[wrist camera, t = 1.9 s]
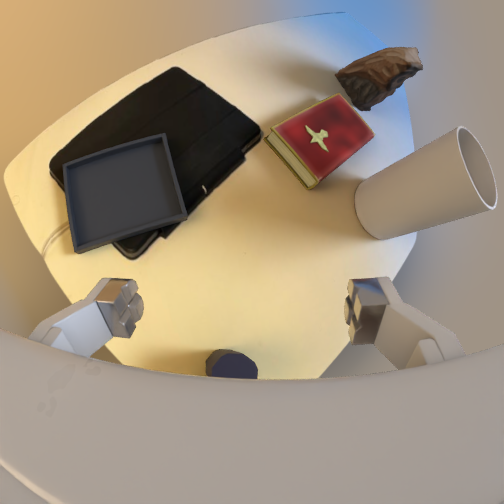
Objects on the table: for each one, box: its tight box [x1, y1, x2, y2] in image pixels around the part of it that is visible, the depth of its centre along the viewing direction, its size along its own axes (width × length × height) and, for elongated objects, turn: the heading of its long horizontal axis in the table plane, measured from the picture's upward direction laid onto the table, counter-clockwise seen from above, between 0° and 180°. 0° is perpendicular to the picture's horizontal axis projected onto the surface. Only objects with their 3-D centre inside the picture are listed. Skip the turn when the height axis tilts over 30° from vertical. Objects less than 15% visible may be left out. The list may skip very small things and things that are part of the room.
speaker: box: [206, 349, 258, 379], centre depth 32 cm, size 8×6×10 cm
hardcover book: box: [263, 93, 375, 190], centre depth 46 cm, size 12×21×4 cm, turn 133°
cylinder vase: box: [355, 126, 497, 240], centre depth 38 cm, size 12×12×25 cm
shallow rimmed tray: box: [63, 133, 188, 254], centre depth 35 cm, size 17×14×2 cm
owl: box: [335, 47, 423, 111], centre depth 45 cm, size 13×13×20 cm
